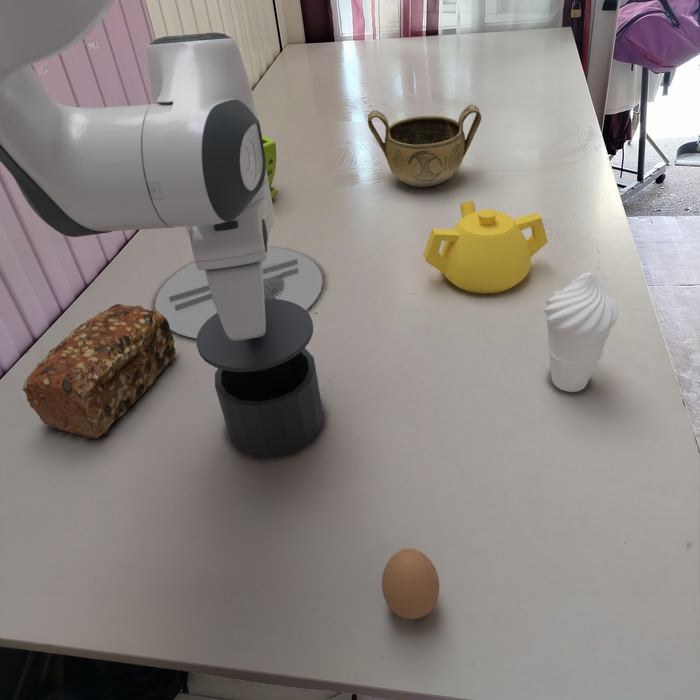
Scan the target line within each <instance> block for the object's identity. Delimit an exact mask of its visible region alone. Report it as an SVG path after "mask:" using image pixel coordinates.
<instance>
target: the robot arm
mask: <svg viewBox="0 0 700 700" xmlns="http://www.w3.org/2000/svg"><path fill="white" fill-rule="evenodd" d="M115 2H116V0H0V163H1V165H3V166H4V168H6V169H7V171H8V172H9V174H11V176H12V177H13V179H14V181H15V182H16V184H17V186H18V188H19V190H20V192H21V194H22V195H23V198H24V199H25V201H26V202H27V204H28V205H29V207H30V208H31V210H33V212H34V213H35V214H36V215H37V216H38V217H39V218H40V219H41V221H43V222H44V223H45V224H47V225H48V226H49V227H51V228H52V229H53V230H55V231H56V232H58V233H59V234H61V235H63V236H66V237H71V238H79V237H86V236H93V235H101V234H109V233H112V232H119V231H120V232H121V231H122V232H123V231H139V230H141V231H142V230H158V229H159V230H160V229H161V230H162V229H174V228H182V227H183V228H185V230H186V233H187V236H188V238H189V240H190V242H191V251H192V255H193V259H194V262H195V264H196V267H197V269H198V270H205V274H206V278H207V282H208V285H209V289H210V292H211V295H212V298H213V300H214V303H215V306H216V309H217V312H218V315H219V318H220V320H221V323H222V326H223V328H224V331H225V333H226V335H227V336H228V337H229V338H230V339H231V340H232V341H239V340H246V339H252V338H257V337H261V336H263V335H264V334H265V331H266V315H265V301H264V286H263V261H264V260H266V258H267V254H266V252H267V247H268V241H269V236H270V233H271V230H272V227H273V226H274V225H275V221H276V216H275V211H274V206H273V200H272V199H273V198H272V199H271V193H270V187H269V182H268V176H267V171H266V160H265V152H264V146H263V140H262V136H263V135H262V129H261V125H260V121H259V118H258V113H257V108H256V104H255V100H254V95H253V90H252V87H251V83H250V80H249V79H250V78H249V75H248V74H247V69H246V66H245V63H244V60H243V56H242V54H241V51H240V48H239V46H238V44H237V41H236V40H235V39H234V37H232V36H230V35H227V34H225V33H221V32H207V33H205V32H204V33H192V34H183V35H169V36H161V37H158V38H156V39H154V40H153V41H151V42H150V43H148V45H147V46H146V47H147V48H146V58H147V59H146V60H147V68H148V75H149V82H150V89H151V95H152V100H153V103H151V104H149V103H148V104H136V105H135V104H134V105H121V106H107V107H78V106H72V105H65V104H62V103H59V102H56V101H54V100H53V99H52V97H51V96H50V94H49V92H48V91H47V89H46V88H45V86H44V84H43V82H42V81H41V79H40V78H39V76H38V75H37V73H36V71H35V70H34V68H33V67H32V65H34V64H36V63H37V64H38V63H39V62H42V61H45V60H48V59H51V58H53V57H56V56H59V55H60V54H63V53H65V52H67V51H69V50H71V49H72V48H74V47H75V46H76V45H78V44H79V43H81V42H82V41H83V40H85V38H87V37H88V36H89V35H90V34H91V33H92V32H93V31H94V30H95V29H96V28H97V27H98V26H99V24H100V23H101V22H102V21H103V19H104V18H105V17H106V15H108V13H109V11H110V10H111V8H112V6H113V5H114V3H115Z"/></svg>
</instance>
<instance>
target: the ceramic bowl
mask: <svg viewBox="0 0 700 700" xmlns="http://www.w3.org/2000/svg"><path fill="white" fill-rule="evenodd" d="M473 113H474V114H475V116H474V119H473V121H472V124H471V125H470V128H469V130H468V132H467V136H466V135H465V131H464V122H465V120H466V119H467V117H468V116H469V115H471V114H473ZM374 118H378V119H379V120H380V121H381V122H382V123H383V125H384V127H385V137H384V141H383V139H382V137H381V135H380V134H379V132H378V130H377V129H376V127H375V125H374V123H373V121H372V119H374ZM481 121H482V114H481V111H480V109H479V107H478V106H477V105H475V104H469V105H467V106H465V108H464V109H463V110H462V111H461V112H460V115H459V117H458V121H457V120H456V119H453V118H450V117H446V116H441V115H418V116H412V117H407V118H402V119H400V120H397V121H395V122H394V123H393V122H392V123H391V124H390V125H389V120H388V118H387V117H386V116H385V114H384V113H382V112H381V111H379V110H371V111H370V112H369V113H368V116H367V125H368V129H369V131H370V132H371V134H372V135H373V137H374V139H375V140H376V142H377V144H378V146H379V147H380V149H381V151H382V153H383V155H384V156H385V159H386V161H387V164H388V167H389V169H390V171H391V173H392V174H393V175H394V176H395V177H396V179H398V180H399V181H401V182H402V183H404V184H406V185H409V186H411V187H416V188H428V187H429V188H430V187H433V186H437V185H440V184H442V183H444V182H446V181H447V180H449V179H451V177H453V176H454V174H455V173H456V172H457V171H458V169H459V168H460V166H461V165H462V163H463V161H464V158H465V155H466V154H467V152H468V150H469V148H470V146H471V144H472V142H473V139H474V137H475V135H476V133H477V131H478V128H479V126H480V124H481Z"/></svg>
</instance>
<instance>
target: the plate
mask: <svg viewBox="0 0 700 700" xmlns="http://www.w3.org/2000/svg"><path fill="white" fill-rule="evenodd" d="M266 254H267V258H266V260H264V261H263V286H264V299H280V300H286V301H289V302H293V303H295V304H297V305H299V306H301V307H302V308H304V309H305V310H306V311H307V312H308V311H309V309H310V308H311V307H312V306H313V305H314V304H315V303H316V301H317V300H318V298H319V296H320V294H321V292H322V289H323V285H324V284H323V283H324V282H323V281H324V280H323V275H322V271H321V269H320V268H319V266H318V265H317V264H316V263H315V262H314V261H313V260H312V259H310V258H309V257H307V256H306V255H304V254H302V253H299V252H296V251H293V250H290V249H286V248H279V247H271V246H270V247H269V246H267V252H266ZM154 308H155V309H154V310H156V311H158V312H159V313H161V314H162V315H163V316H164V317H165V318H166V319H167V321H168V323H169V328H170V330H171V331H172V333H174V334H176V335H179V336H182V337H184V338H188V339H193V340H197V335H198V332H199V330H200V329H201V327H202V326H203V324H204V323H205V322H206V321H207V320H208V319H209V318H211V317H212V316H213V315H215V314H216V313H218V312H217V309H216V306H215V303H214V300H213V298H212V295H211V292H210V289H209V285H208V282H207V278H206V274H205V270H198V269H197V267H196V264H195V261H194V262H192V263H190V264H188V265H186V266H185V267H183V268H182V269H180V270H179V271H178V272H176V273H175V274H173V275H172V276H171V277H170V278H169V279H168V280H167V281H166V282H165V283H164V284H163V285H162V287H161V288H160V289H159V291H158V293H157V295H156V299H155V302H154Z"/></svg>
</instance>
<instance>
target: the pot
mask: <svg viewBox="0 0 700 700" xmlns="http://www.w3.org/2000/svg"><path fill="white" fill-rule="evenodd" d="M214 389H215V392H216V395H217V399H218V402H219V404H220V408H221V412H222V416H223V419H224V422H225V426H226V429H227V432H228V435H229V436H230V439H231V441H232V442H233V444H234V445H235V446H236V447H237V448H238V449H239V450H241V451H242V452H244V453H246V454H249V455H251V456H255V457H261V458H274V457H282V456H286V455H289V454H292V453H294V452H296V451H299V450H301V449H302V448H304V447H306V446H307V445H308V444H309V443H310V442H312V441H313V440H314V439H315V438H316V436H318V434H319V432H320V431H321V428H322V425H323V422H324V413H323V411H324V410H323V406H322V400H321V394H320V387H319V381H318V374H317V368H316V363H315V358H314V356H313V355H312V354H311V352H310V351H308V349H306V347H305V348H304V349H303V350H302V351H301V352H300V353H299V354H297V355H296V356H295V357H293V358H292V359H290V360H288V361H286V362H284V363H282V364H280V365H277V366H274V367H271V368H268V369H264V370H259V371H251V372H233V371H226V370H222V369H219V368H216V371H215V372H214Z"/></svg>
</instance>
